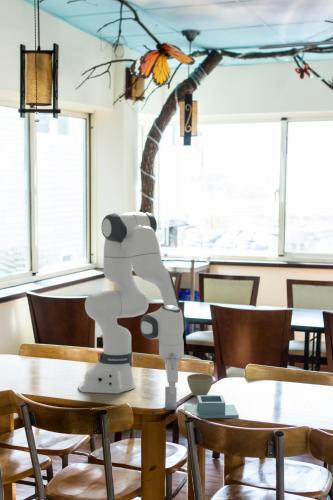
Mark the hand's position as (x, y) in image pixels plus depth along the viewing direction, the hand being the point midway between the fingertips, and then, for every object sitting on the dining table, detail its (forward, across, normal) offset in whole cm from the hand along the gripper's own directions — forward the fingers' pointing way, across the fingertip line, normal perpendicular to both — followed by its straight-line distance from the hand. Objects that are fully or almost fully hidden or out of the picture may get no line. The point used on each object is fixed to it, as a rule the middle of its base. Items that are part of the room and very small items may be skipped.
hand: (171, 389), depth 254 cm
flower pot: (+7, +18, -12) cm, 23 cm away
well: (+8, -4, -14) cm, 16 cm away
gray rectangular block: (+7, +2, 0) cm, 8 cm away
